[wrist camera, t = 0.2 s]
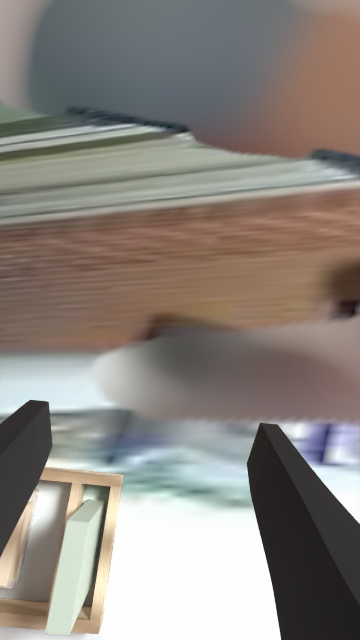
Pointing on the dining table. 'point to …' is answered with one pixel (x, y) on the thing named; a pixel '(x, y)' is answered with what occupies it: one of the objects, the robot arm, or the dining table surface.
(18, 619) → the rack
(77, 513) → the pale green slab
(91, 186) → the dining table surface
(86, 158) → the dining table surface
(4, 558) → the offcut upper
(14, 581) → the offcut lower
